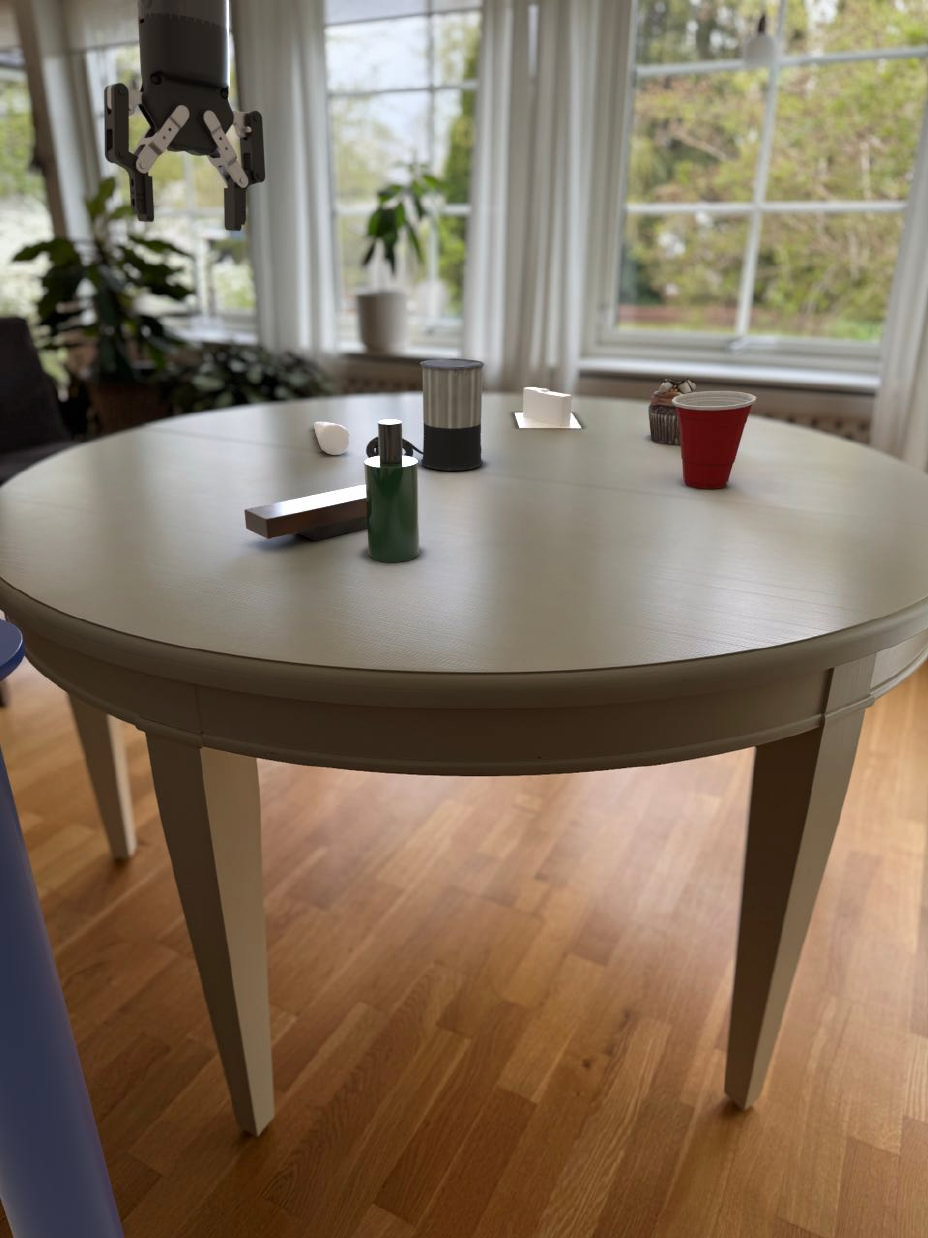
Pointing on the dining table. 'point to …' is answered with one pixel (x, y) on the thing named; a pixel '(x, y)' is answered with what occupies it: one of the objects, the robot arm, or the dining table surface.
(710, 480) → the plastic cup
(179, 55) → the robot arm
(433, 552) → the dining table surface
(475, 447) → the milk frother
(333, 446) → the unicorn horn
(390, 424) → the green bottle
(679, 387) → the cupcake
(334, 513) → the brush
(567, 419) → the napkin holder
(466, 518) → the dining table surface
